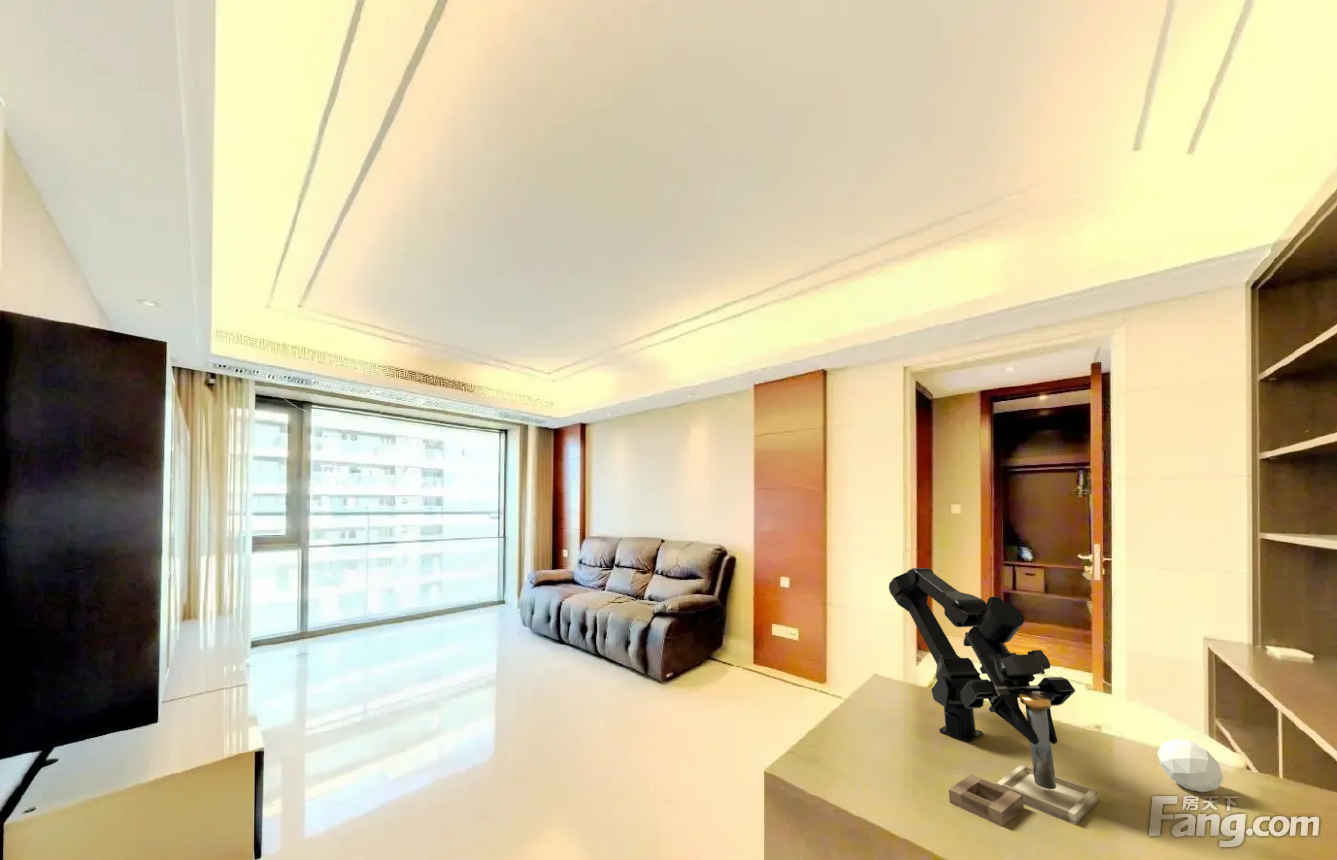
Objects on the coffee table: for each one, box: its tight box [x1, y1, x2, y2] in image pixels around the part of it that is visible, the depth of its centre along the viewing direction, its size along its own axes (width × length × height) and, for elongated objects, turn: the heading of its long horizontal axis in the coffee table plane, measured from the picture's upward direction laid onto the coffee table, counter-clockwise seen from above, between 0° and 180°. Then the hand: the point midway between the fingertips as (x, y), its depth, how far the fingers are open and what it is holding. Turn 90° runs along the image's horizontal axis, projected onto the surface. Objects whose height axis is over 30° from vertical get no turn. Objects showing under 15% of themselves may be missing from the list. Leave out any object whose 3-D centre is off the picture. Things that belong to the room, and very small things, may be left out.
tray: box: [996, 763, 1100, 826], centre depth 84 cm, size 11×11×2 cm
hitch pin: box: [1019, 693, 1056, 789], centre depth 85 cm, size 4×4×14 cm
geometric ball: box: [1157, 738, 1224, 793], centre depth 86 cm, size 8×8×8 cm
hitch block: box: [948, 774, 1025, 827], centre depth 82 cm, size 8×8×2 cm
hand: (1045, 743), depth 84 cm, fingers closed on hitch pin, 3 cm apart
